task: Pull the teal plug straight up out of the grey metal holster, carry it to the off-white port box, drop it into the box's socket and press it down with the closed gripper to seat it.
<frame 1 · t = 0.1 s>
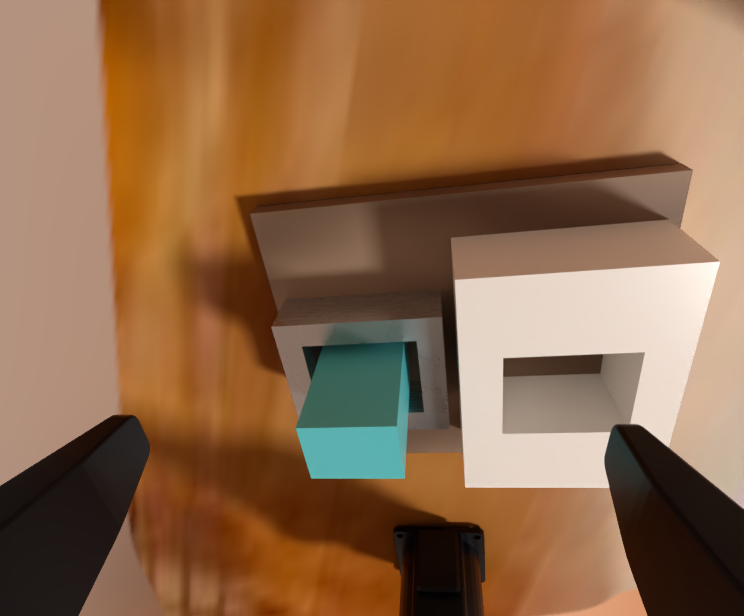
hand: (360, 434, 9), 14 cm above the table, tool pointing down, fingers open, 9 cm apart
plug: (362, 394, 22), in the holster, point 4 cm above the table, touching board
board: (460, 334, 25), on the table
holster: (367, 364, 23), on the board, point 2 cm above the table
port box: (547, 341, 23), resting on board
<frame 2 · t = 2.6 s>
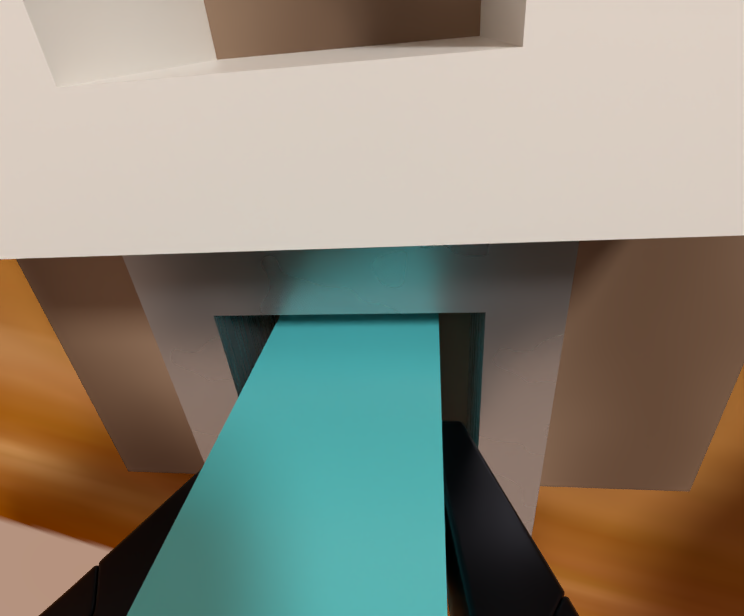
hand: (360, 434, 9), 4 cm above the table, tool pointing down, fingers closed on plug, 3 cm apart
plug: (352, 478, 8), in the holster, point 4 cm above the table, touching board, gripper
board: (360, 134, 9), on the table
holster: (367, 390, 10), on the board, point 2 cm above the table
when the fingers open (5 cm above the table, at t = 6.6 s): plug drops 2 cm, resting on board.
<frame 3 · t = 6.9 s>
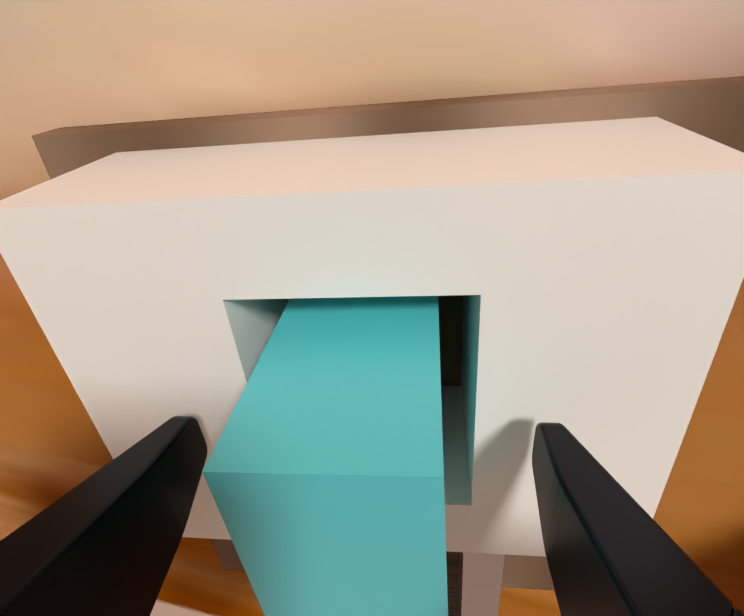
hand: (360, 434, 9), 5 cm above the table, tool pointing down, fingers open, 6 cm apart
plug: (368, 398, 10), in the port box, point 4 cm above the table, touching board
board: (392, 400, 16), on the table
holster: (396, 547, 16), on the board, point 2 cm above the table
port box: (380, 309, 13), resting on board
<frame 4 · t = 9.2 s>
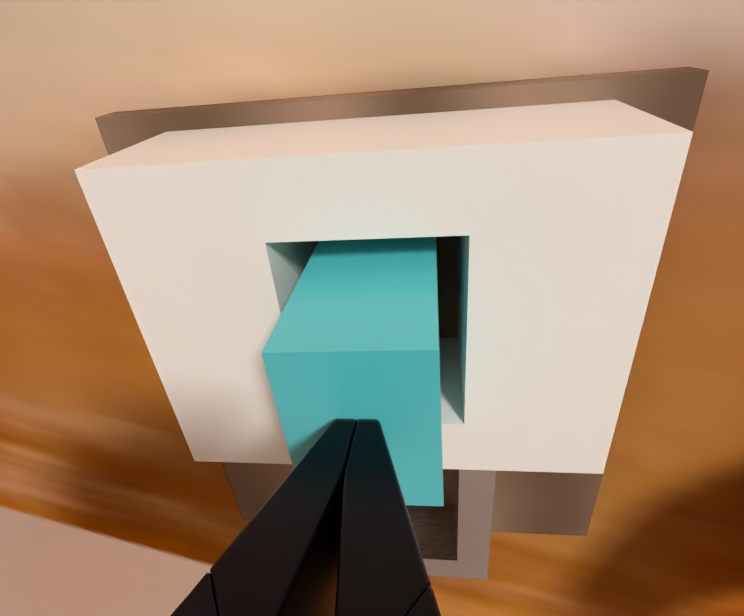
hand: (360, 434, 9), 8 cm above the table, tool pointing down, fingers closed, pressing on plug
plug: (378, 331, 12), in the port box, point 4 cm above the table, touching board, gripper
board: (396, 356, 18), on the table
holster: (399, 487, 18), on the board, point 2 cm above the table
port box: (387, 268, 15), resting on board
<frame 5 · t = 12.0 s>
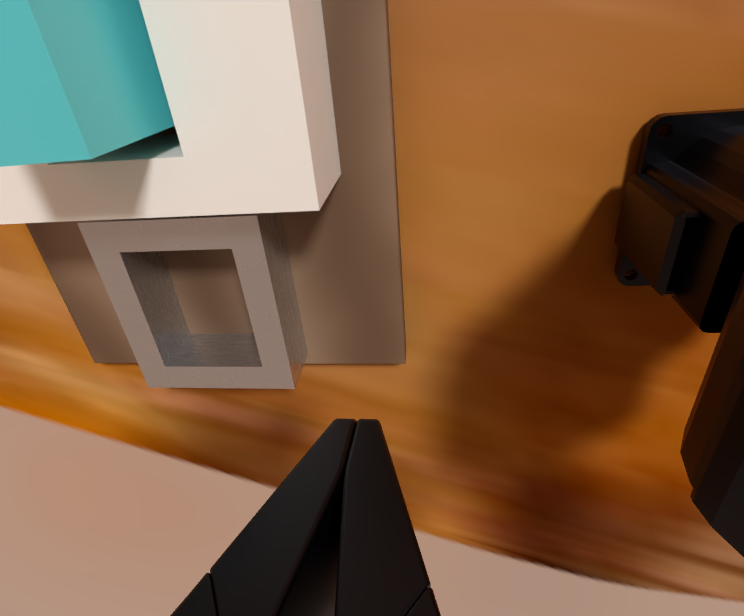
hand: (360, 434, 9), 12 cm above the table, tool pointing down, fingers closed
plug: (91, 58, 13), in the port box, point 4 cm above the table, touching board
board: (199, 168, 19), on the table
holster: (208, 297, 19), on the board, point 2 cm above the table
port box: (153, 50, 16), resting on board
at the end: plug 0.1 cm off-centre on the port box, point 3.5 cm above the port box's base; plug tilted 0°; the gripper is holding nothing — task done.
